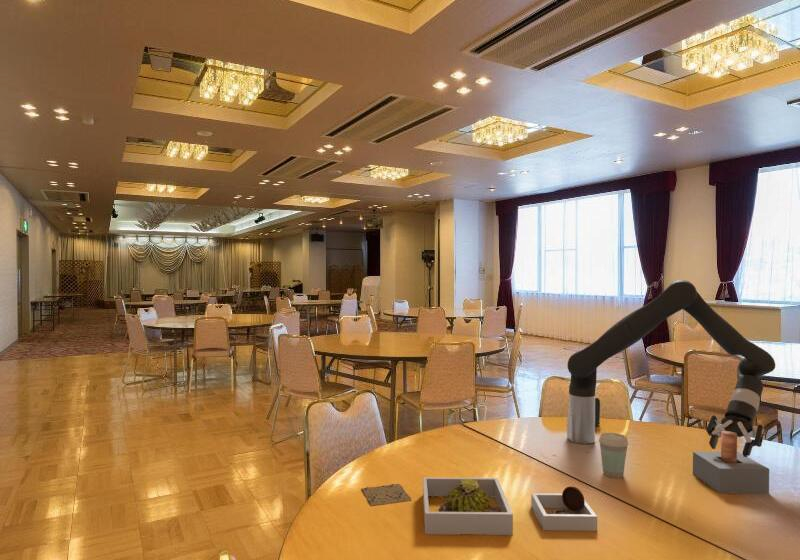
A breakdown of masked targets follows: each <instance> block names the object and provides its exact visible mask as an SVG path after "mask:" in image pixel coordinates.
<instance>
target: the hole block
mask: <svg viewBox="0 0 800 560" xmlns="http://www.w3.org/2000/svg"><path fill="white" fill-rule="evenodd" d="M692 475H694V476H695V477H696V478H698V479H699V480H701V481H702V482H704V483H705V484H706V485H707V486H709V487H711V488H712V489H713V490H714V491H716V492H717V493H718V494H770V468H769V467H767V466H765V465H763V464H761V463H759V462H757V461H756V460H753V459H752V458H750V457H749V456H747V457H744V456H743V454H742V453H741V452H739V451H737V463H725V462H723V461H722V460H721V451H692Z"/></svg>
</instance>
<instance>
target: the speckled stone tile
mask: <svg viewBox="0 0 800 560" xmlns="http://www.w3.org/2000/svg"><path fill="white" fill-rule="evenodd" d="M403 487H404V486H402V485H401V484H400V483H392V484H387V485H380V486H372V487H371V486H370V487H369V486H367V487H362V488H361V492H362V493H363V496H364V498H365V499H366V501H367V503H368V505H369V506H370V507H376V506H384V505H391V504H396V503H397V504H398V503H404V502H405V503H406V502H412V501H413V500H412V497H410V495H409V494H408V493H407V492H406V491H405V489H404V488H403Z"/></svg>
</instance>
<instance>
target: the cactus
mask: <svg viewBox="0 0 800 560" xmlns="http://www.w3.org/2000/svg"><path fill="white" fill-rule="evenodd" d="M464 478H465V479H462V480H461V481H460V482H461V484H460V485H459V486H458V485H456V486H457V487H453V489H452V490H451V491H450V492H449V493H448V495H447V496H446V497H445V502H442V503H441V505H440V506H439V508H438V512H501V511H500V509H499V508H498V506H496V505H493V504H491V501H490V500H489V497H488V496H486V493H485V492H483V490H481V489H480V488H479V484H478V483H477V481H476V480H475V479H472V480H471V479H466V478H467V477H464Z"/></svg>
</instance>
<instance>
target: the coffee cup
mask: <svg viewBox="0 0 800 560" xmlns="http://www.w3.org/2000/svg"><path fill="white" fill-rule="evenodd" d="M598 442H599V449H600V456H601V457H600V458H601V466H602V474H603V475H604V476H605V477H608V478H613V479H621V478H623V477H624V473H625V465H626V458H627V450H628V446H629V441H628V439H627V437H626V436H625V435H623V434H621V433H617V432H603V433H601V434H600V436H599V438H598Z"/></svg>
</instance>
